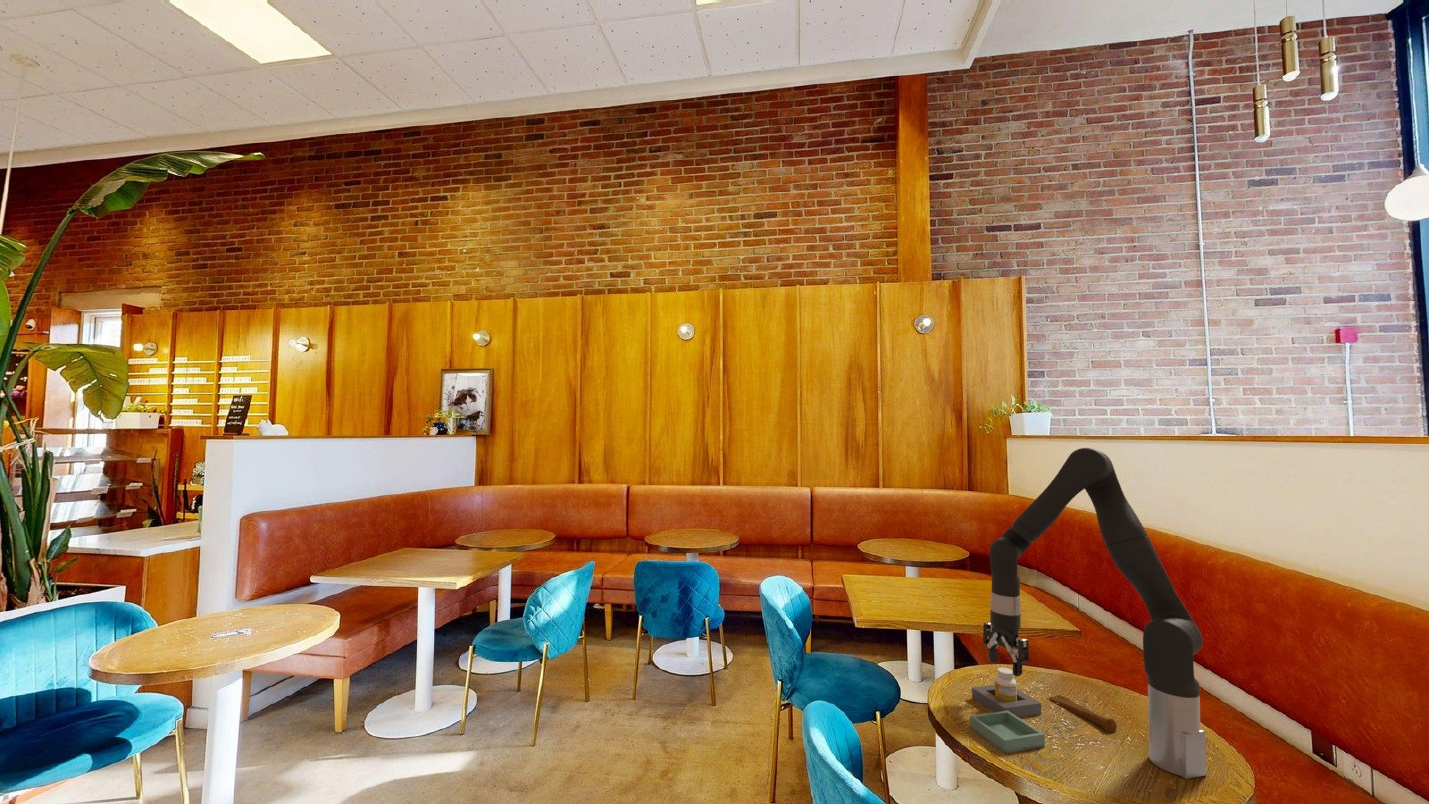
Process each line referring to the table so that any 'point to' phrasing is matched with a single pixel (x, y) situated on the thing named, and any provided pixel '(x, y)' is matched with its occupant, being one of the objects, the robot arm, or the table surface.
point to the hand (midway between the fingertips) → (1004, 668)
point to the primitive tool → (1086, 713)
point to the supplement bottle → (1005, 685)
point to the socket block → (1019, 708)
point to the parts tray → (1007, 731)
